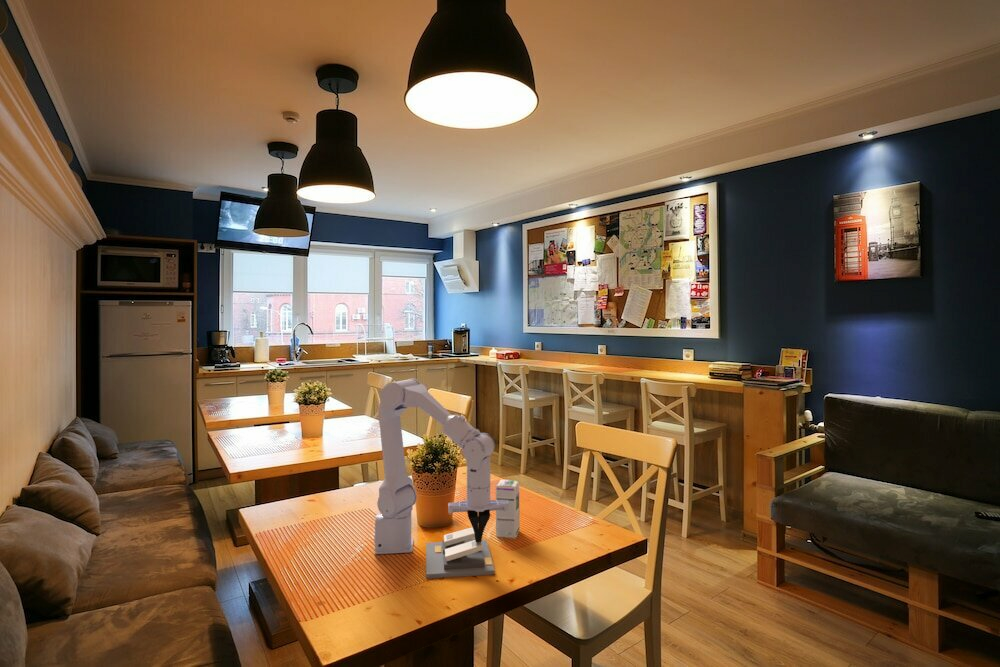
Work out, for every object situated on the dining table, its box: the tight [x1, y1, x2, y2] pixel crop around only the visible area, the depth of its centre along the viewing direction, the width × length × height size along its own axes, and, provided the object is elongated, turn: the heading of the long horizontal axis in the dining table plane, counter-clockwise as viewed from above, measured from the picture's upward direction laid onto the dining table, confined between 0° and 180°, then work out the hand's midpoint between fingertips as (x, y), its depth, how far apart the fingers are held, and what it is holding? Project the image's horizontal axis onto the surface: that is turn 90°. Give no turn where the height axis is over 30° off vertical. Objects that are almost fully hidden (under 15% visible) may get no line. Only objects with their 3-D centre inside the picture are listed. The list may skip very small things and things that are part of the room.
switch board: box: [425, 538, 496, 580], centre depth 131 cm, size 16×17×3 cm
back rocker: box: [443, 526, 475, 546], centre depth 135 cm, size 9×4×1 cm, turn 97°
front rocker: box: [445, 540, 483, 561], centre depth 127 cm, size 9×4×1 cm, turn 97°
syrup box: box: [495, 479, 521, 539], centre depth 147 cm, size 6×6×14 cm
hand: (478, 540), depth 128 cm, fingers closed
